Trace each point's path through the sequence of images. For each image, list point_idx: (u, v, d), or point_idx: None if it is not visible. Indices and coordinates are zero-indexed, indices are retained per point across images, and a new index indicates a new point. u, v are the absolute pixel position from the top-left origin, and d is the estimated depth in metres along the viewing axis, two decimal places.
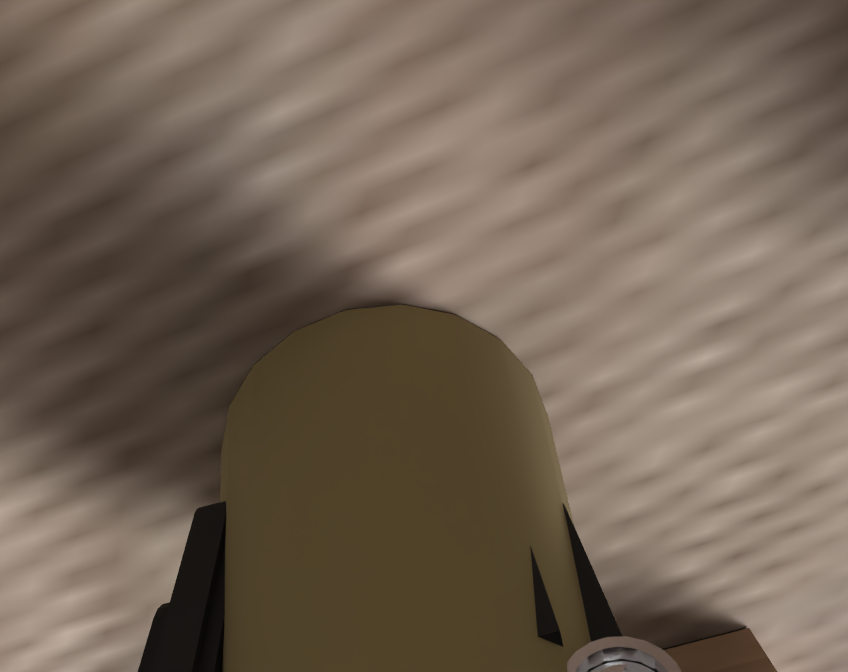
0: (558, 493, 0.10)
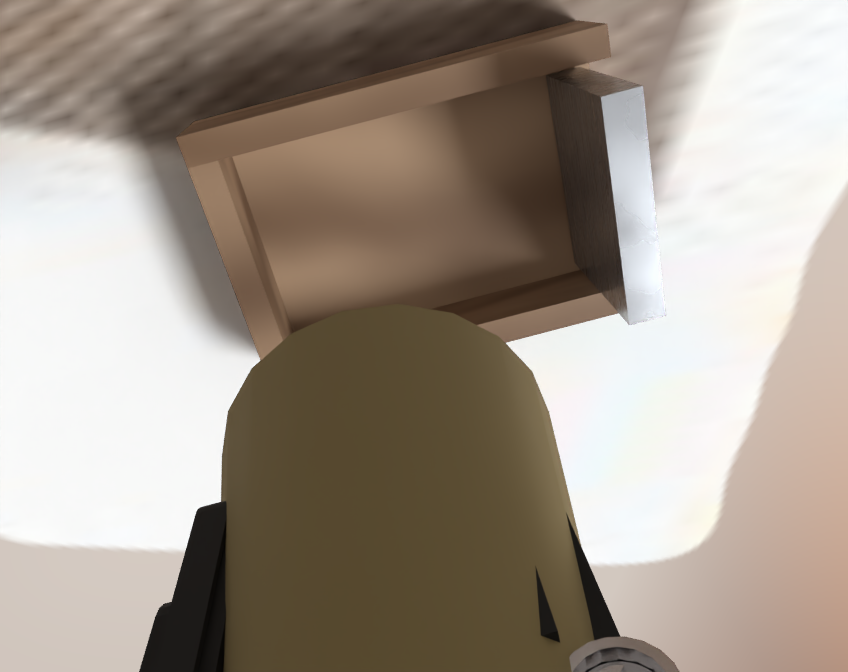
0: (558, 490, 0.10)
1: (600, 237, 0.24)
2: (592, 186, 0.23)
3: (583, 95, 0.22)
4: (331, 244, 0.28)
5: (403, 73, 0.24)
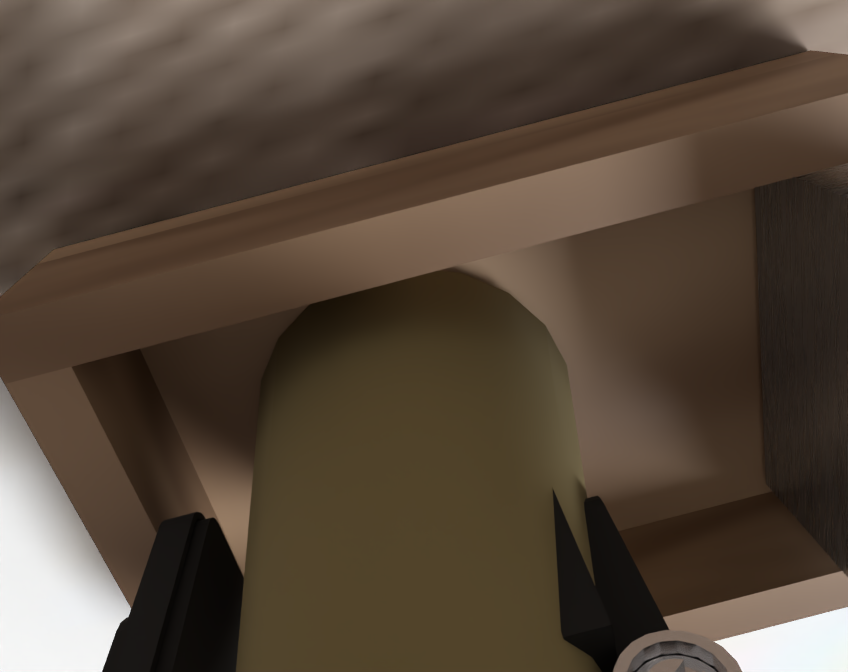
0: (558, 431, 0.11)
1: None
2: None
3: None
4: None
5: (478, 169, 0.11)
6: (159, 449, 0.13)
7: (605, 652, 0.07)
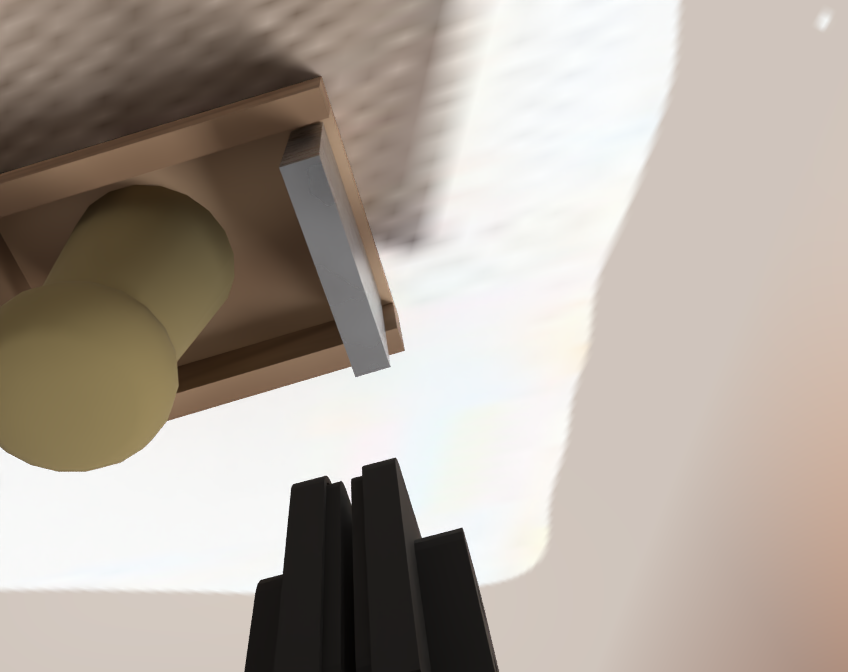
0: (184, 243, 0.25)
1: None
2: None
3: None
4: None
5: (135, 139, 0.25)
6: (10, 282, 0.27)
7: None
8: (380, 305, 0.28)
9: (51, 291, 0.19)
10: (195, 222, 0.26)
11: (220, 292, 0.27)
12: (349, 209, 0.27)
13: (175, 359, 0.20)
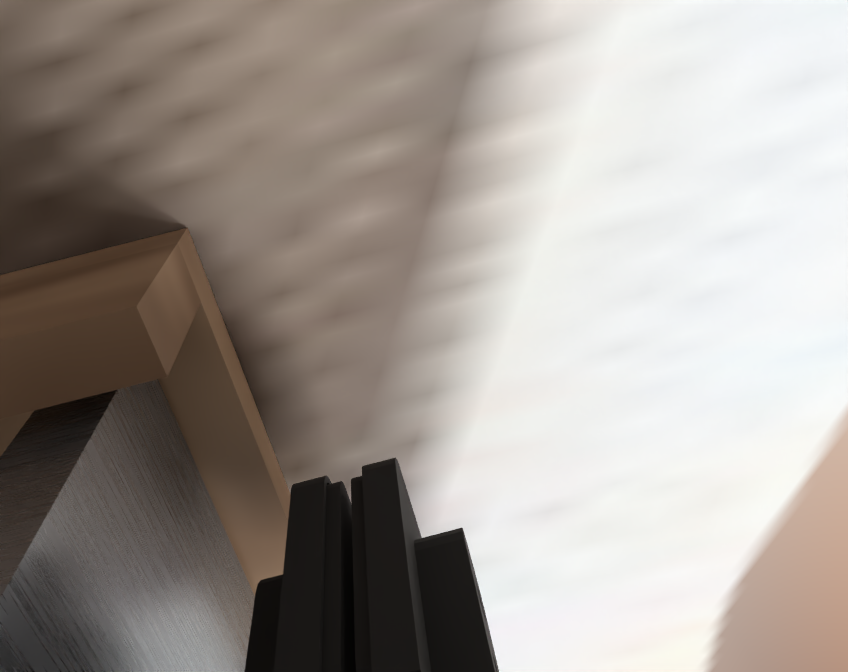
0: None
1: None
2: None
3: None
4: None
5: None
6: None
7: None
8: None
9: None
10: None
11: None
12: (198, 540, 0.12)
13: None
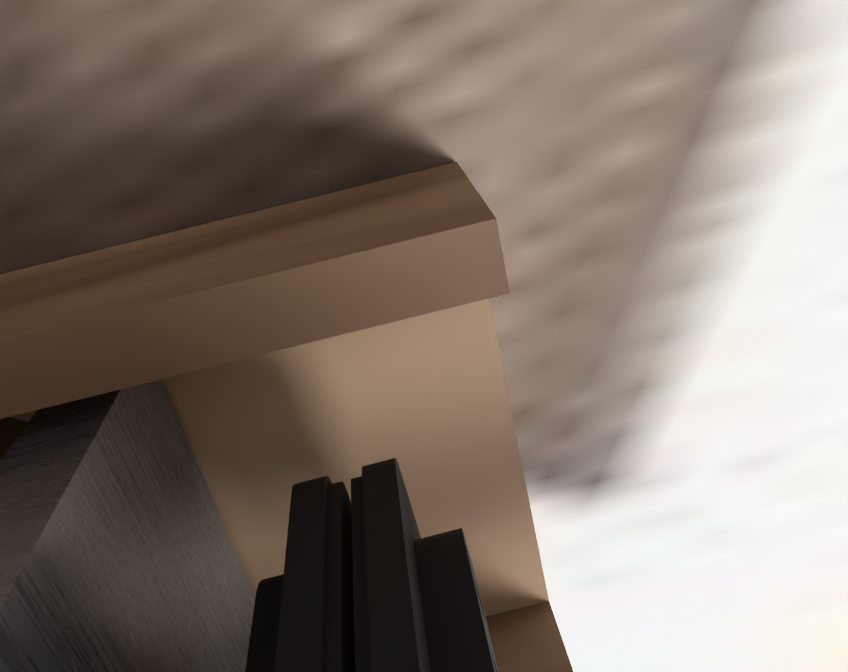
0: None
1: None
2: None
3: None
4: None
5: (6, 312, 0.10)
6: None
7: None
8: None
9: None
10: None
11: None
12: (200, 540, 0.12)
13: None
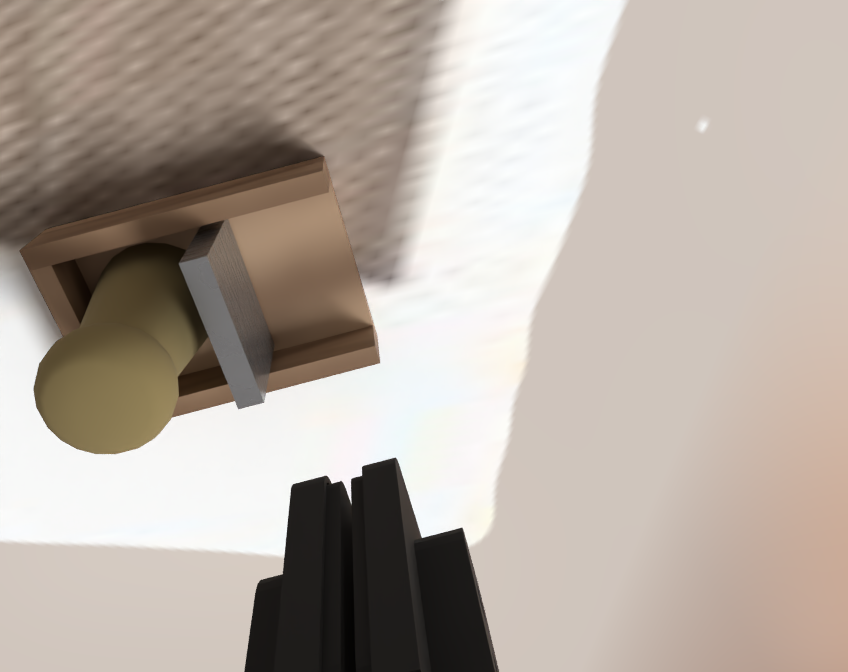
0: (183, 289, 0.34)
1: None
2: None
3: None
4: None
5: (186, 201, 0.34)
6: (84, 302, 0.36)
7: None
8: (270, 352, 0.37)
9: (93, 331, 0.27)
10: None
11: None
12: (245, 281, 0.36)
13: (176, 376, 0.29)
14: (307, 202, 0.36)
